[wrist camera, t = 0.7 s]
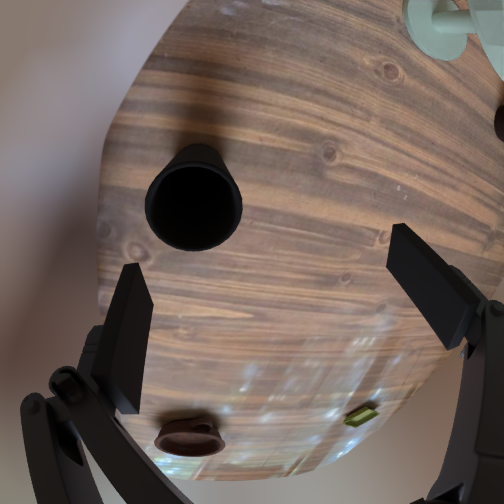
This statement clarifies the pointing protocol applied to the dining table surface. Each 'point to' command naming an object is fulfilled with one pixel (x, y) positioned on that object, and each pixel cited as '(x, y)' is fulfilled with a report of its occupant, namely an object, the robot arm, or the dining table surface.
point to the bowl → (456, 28)
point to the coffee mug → (499, 123)
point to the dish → (190, 438)
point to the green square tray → (360, 417)
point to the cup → (194, 200)
